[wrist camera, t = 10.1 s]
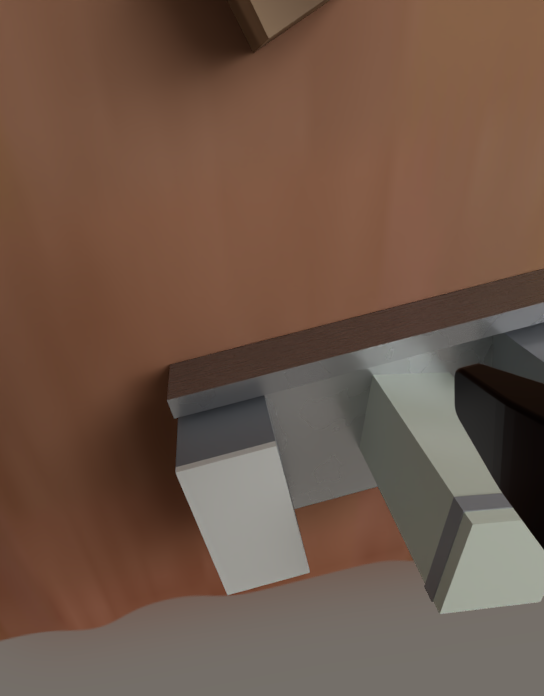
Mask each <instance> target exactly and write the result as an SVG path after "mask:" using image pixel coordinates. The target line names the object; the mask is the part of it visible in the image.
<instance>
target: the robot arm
mask: <svg viewBox="0 0 544 696" xmlns="http://www.w3.org/2000/svg"><path fill="white" fill-rule="evenodd" d="M454 396H455V411H456V414H457V416H458V419H459V420H460V422H461V424H462V426H463V427H464V429H465V431H466V433H467V434H468V436H469V438H470V439H471V441H472V443H473V445H474V446H475V448H476V450H477V452H478V453H479V455H480V457H481V458H482V460H483V462H484V464H485V465H486V467H487V469H488V471H489V472H490V474H491V476H492V478H493V479H494V481H495V482H496V484H497V486H498V487H499V489H500V490H501V492H502V493H503V495H504V496H505V498H506V499H507V500H508V502H509V503H510V505H511V506H512V507H513V509H514V510H515V511H516V513H517V514H518V515H519V517H520V518H521V520H522V521H523V522H524V524H525V525H526V526H527V528H528V529H529V530H530V532H531V533H532V535H533V536H534V537H535V539H536V540H537V541H538V543H539V544H540V545H541V547H542V548H543V550H544V383H540V382H537V381H534V380H531V379H528V378H525V377H521V376H518V375H515V374H512V373H509V372H506V371H503V370H499V369H496V368H493V367H490V366H487V365H484V364H479V363H477V364H473V365H469V366H465V367H461V368H458V369H457V370H456V372H455V376H454Z"/></svg>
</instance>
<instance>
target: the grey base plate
mask: <svg viewBox="0 0 544 696" xmlns="http://www.w3.org/2000/svg"><path fill="white" fill-rule="evenodd" d="M543 322H544V269H541V270H537V271H533V272H530V273H526V274H522V275H518V276H514V277H510V278H506V279H502V280H498V281H495V282H491V283H487V284H483V285H479V286H475V287H471V288H467V289H463V290H460V291H456V292H452V293H448V294H444V295H440V296H436V297H432V298H428V299H424V300H421V301H417V302H413V303H409V304H405V305H401V306H397V307H393V308H389V309H386V310H382V311H378V312H374V313H370V314H366V315H362V316H358V317H354V318H351V319H347V320H343V321H339V322H335V323H331V324H327V325H323V326H319V327H315V328H312V329H308V330H304V331H300V332H296V333H292V334H288V335H284V336H280V337H277V338H273V339H269V340H265V341H261V342H257V343H253V344H249V345H245V346H242V347H238V348H234V349H230V350H226V351H222V352H218V353H214V354H210V355H207V356H203V357H199V358H195V359H191V360H187V361H183V362H179V363H175V364H171V365H170V372H169V383H168V393H167V402H168V404H169V407H170V409H171V412H172V414H173V417H174V419H175V418H179V417H183V416H186V415H190V414H194V413H198V412H202V411H206V410H209V409H213V408H217V407H221V406H225V405H229V404H232V403H236V402H240V401H244V400H248V399H252V398H255V397H259V396H263V395H264V396H265V399H266V403H267V407H268V411H269V415H270V418H271V422H272V426H273V430H274V434H275V437H276V441H277V445H278V449H279V453H280V456H281V460H282V464H283V468H284V472H285V475H286V479H287V483H288V487H289V491H290V494H291V498H292V502H293V506H294V509H296V508H300V507H304V506H307V505H311V504H315V503H319V502H322V501H326V500H330V499H333V498H337V497H341V496H344V495H348V494H352V493H356V492H359V491H363V490H367V489H370V488H374V487H378V486H377V484H376V481H375V479H374V477H373V475H372V473H371V471H370V469H369V467H368V465H367V463H366V461H365V459H364V457H363V455H362V453H361V451H360V448H359V446H360V441H361V436H362V430H363V425H364V419H365V414H366V409H367V403H368V398H369V392H370V387H371V382H372V376H373V375H380V374H413V373H447V372H450V373H451V375H452V376H453V377H454V376H455V372H456V370H457V369H458V368H461V367H465V366H469V365H473V364H477V363H479V364H484V365H487V366H490V367H492V355H493V335H497V334H500V333H504V332H508V331H512V330H516V329H520V328H523V327H527V326H531V325H535V324H539V323H543Z"/></svg>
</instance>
